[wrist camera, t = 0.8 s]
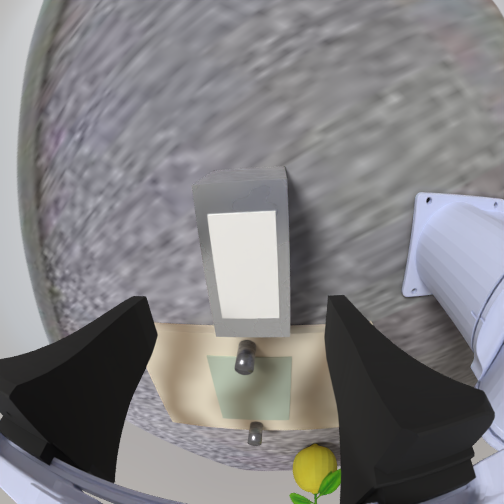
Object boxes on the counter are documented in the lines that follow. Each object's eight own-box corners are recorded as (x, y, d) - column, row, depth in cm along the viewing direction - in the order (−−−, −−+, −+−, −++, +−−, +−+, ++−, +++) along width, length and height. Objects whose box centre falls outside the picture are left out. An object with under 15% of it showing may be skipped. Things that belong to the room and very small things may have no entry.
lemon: (290, 454, 32) (288, 515, 22) (285, 437, 29) (283, 507, 20) (337, 449, 31) (342, 510, 21) (339, 431, 28) (346, 501, 19)
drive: (284, 165, 17) (287, 179, 12) (288, 291, 21) (290, 337, 16) (214, 170, 17) (191, 185, 13) (228, 293, 21) (215, 337, 16)
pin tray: (371, 321, 21) (382, 350, 18) (344, 419, 27) (347, 444, 24) (135, 321, 23) (118, 346, 20) (175, 415, 29) (167, 438, 26)
